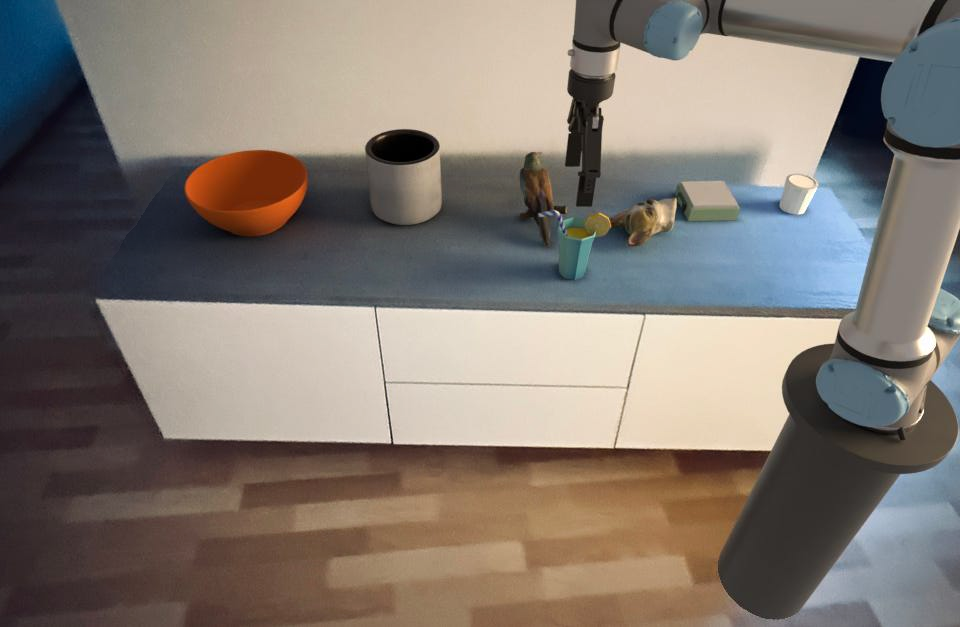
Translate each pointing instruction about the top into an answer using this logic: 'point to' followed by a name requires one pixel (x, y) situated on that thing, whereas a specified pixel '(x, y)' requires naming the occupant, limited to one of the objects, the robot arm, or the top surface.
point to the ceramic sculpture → (646, 219)
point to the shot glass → (797, 193)
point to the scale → (706, 201)
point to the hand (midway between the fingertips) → (577, 184)
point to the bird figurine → (537, 194)
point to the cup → (577, 241)
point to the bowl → (248, 191)
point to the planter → (404, 176)
